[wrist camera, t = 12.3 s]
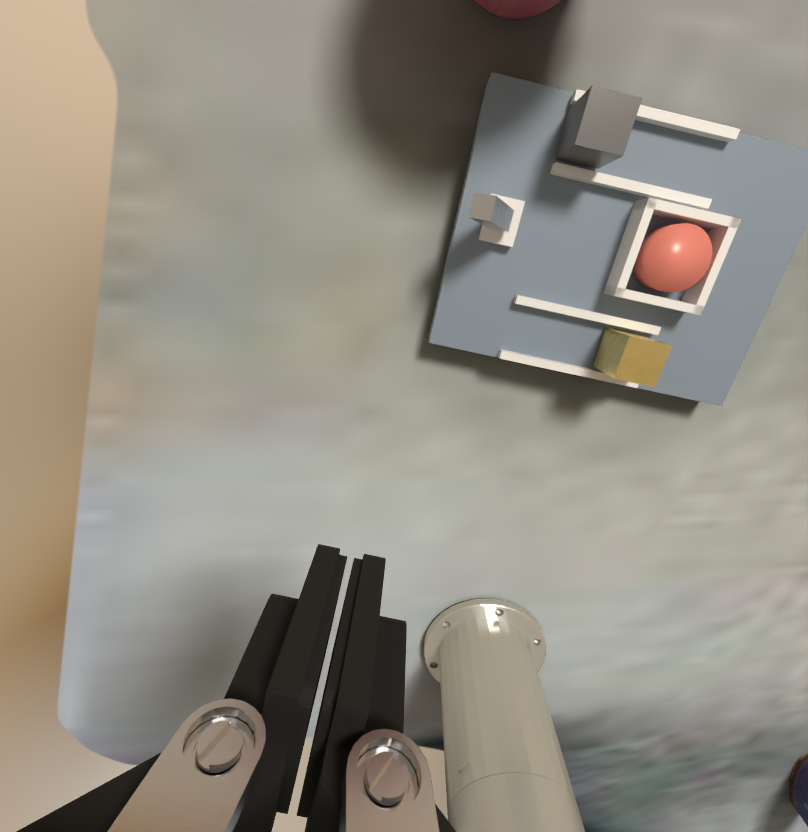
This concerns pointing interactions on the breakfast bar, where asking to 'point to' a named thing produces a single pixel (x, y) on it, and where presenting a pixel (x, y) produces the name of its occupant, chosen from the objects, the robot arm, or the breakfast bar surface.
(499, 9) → the plant pot
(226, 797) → the robot arm
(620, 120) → the slider gray
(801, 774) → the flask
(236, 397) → the breakfast bar surface
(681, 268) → the button
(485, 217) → the toggle
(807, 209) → the panel
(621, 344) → the slider brass
